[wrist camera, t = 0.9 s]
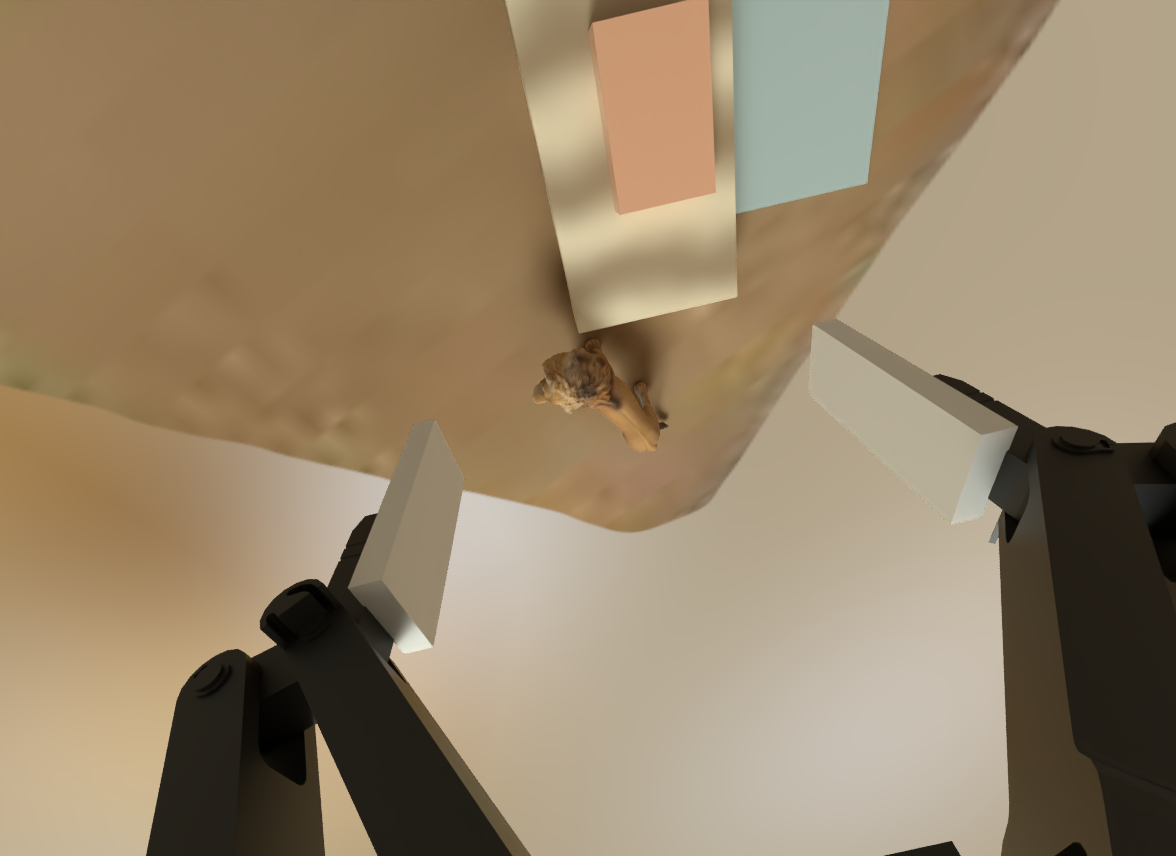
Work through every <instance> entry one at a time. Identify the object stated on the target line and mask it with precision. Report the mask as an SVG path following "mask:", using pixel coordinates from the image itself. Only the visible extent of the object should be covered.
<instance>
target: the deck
mask: <svg viewBox="0 0 1176 856" xmlns="http://www.w3.org/2000/svg"><path fill="white" fill-rule="evenodd" d="M504 1H505V6H506V10H507V15H508V19H509V24H510V28H511V33H512V37H513V42H514V46H515V51H516V56H517V60H518V65H519V69H520V74H521V78H522V83H523V87H524V92H525V96H526V101H527V105H528V110H529V114H530V119H531V124H532V128H533V133H534V137H535V142H536V146H537V151H538V155H539V160H540V164H541V169H542V173H543V178H544V182H545V187H546V192H547V196H548V201H549V205H550V210H551V214H552V219H553V223H554V228H555V232H556V237H557V241H558V246H559V250H560V255H561V260H562V264H563V269H564V273H565V278H566V282H567V287H568V291H569V296H570V300H571V305H572V309H573V314H574V318H575V322H576V326H577V329H578V333H579V334H580V333H584V332H588V331H593V330H597V329H601V328H606V327H610V326H614V325H619V324H623V323H627V322H632V321H636V320H640V319H644V318H649V317H653V316H657V315H662V314H666V313H670V312H675V311H679V310H683V309H688V308H692V307H696V306H701V305H705V304H709V303H714V302H718V301H722V300H727V299H731V298H735V297H737V258H736V203H735V148H734V93H733V38H732V0H708V2H709V27H710V53H711V79H712V104H713V130H714V156H715V181H716V193H712V194H708V195H704V196H699V197H695V198H691V199H686V200H682V201H678V202H674V203H669V204H665V205H661V206H657V207H652V208H648V209H644V210H639V211H635V212H631V213H627V214H622V215H619V214H618V213H616V212H615V209H614V202H613V196H612V189H611V182H610V176H609V169H608V162H607V156H606V149H605V143H604V136H603V129H602V123H601V116H600V109H599V103H598V96H597V89H596V83H595V76H594V69H593V63H592V56H591V50H590V43H589V36H588V31H589V29H590V27H591V24H592V23H594V22H598V21H602V20H606V19H610V18H614V17H619V16H623V15H627V14H631V13H635V12H640V11H644V10H648V9H652V8H656V7H661V6H665V5H669V4H673V3H677V2H682V1H686V0H504Z"/></svg>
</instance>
